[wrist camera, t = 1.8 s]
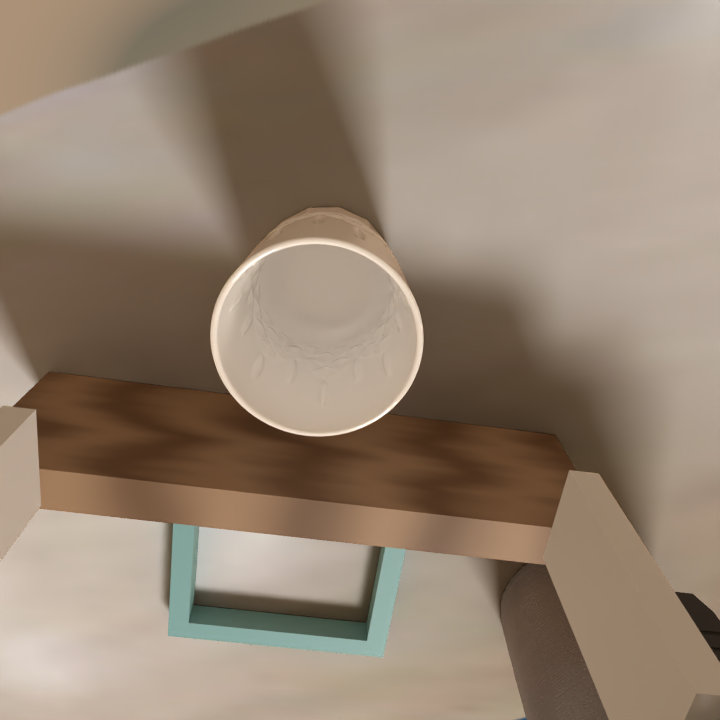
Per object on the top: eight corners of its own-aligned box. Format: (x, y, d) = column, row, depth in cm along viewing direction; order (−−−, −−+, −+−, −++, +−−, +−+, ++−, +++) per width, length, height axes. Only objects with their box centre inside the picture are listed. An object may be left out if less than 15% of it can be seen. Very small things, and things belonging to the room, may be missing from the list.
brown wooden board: (50, 404, 36) (-39, 499, 28) (49, 371, 36) (-43, 459, 27) (546, 465, 38) (600, 571, 30) (555, 435, 38) (613, 534, 29)
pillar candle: (682, 582, 42) (843, 828, 28) (586, 682, 45) (689, 948, 31) (557, 517, 40) (663, 745, 26) (466, 626, 43) (518, 882, 29)
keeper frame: (173, 617, 42) (167, 635, 41) (183, 433, 37) (176, 447, 36) (381, 638, 43) (383, 657, 42) (418, 462, 38) (421, 476, 37)
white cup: (341, 372, 36) (338, 471, 27) (218, 286, 34) (169, 361, 25) (435, 258, 34) (467, 324, 24) (309, 159, 32) (291, 190, 22)
